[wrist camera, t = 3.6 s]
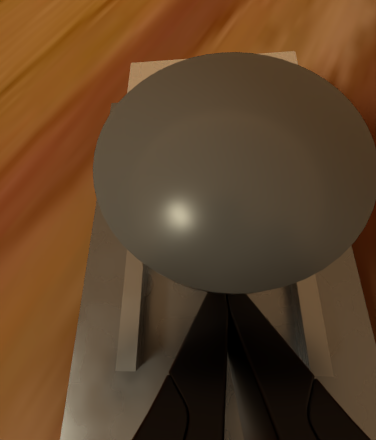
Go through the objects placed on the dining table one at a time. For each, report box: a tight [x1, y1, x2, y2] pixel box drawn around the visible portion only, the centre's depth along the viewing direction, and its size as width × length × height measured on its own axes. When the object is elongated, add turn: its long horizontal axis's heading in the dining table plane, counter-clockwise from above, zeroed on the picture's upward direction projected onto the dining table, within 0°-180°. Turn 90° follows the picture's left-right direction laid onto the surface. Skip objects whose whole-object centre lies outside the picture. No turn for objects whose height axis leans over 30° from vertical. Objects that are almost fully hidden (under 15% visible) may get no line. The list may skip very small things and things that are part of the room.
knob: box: [93, 52, 376, 295], centre depth 10 cm, size 7×7×9 cm
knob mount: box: [60, 51, 376, 440], centre depth 13 cm, size 22×16×6 cm
